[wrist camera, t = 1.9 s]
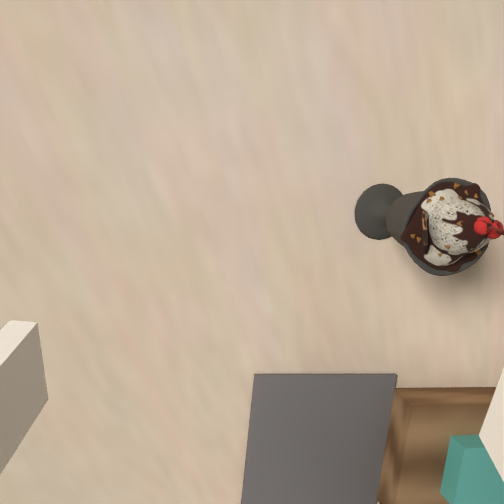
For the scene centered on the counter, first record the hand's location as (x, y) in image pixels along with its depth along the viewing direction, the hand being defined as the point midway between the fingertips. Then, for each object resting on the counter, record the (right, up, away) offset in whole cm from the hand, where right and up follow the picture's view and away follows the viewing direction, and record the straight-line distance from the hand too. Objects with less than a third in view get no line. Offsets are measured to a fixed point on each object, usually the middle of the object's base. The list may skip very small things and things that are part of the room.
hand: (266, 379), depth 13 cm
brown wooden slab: (+22, -16, +34) cm, 44 cm away
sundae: (+11, +7, +28) cm, 31 cm away
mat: (+6, -15, +31) cm, 35 cm away
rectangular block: (+22, -17, +31) cm, 42 cm away
